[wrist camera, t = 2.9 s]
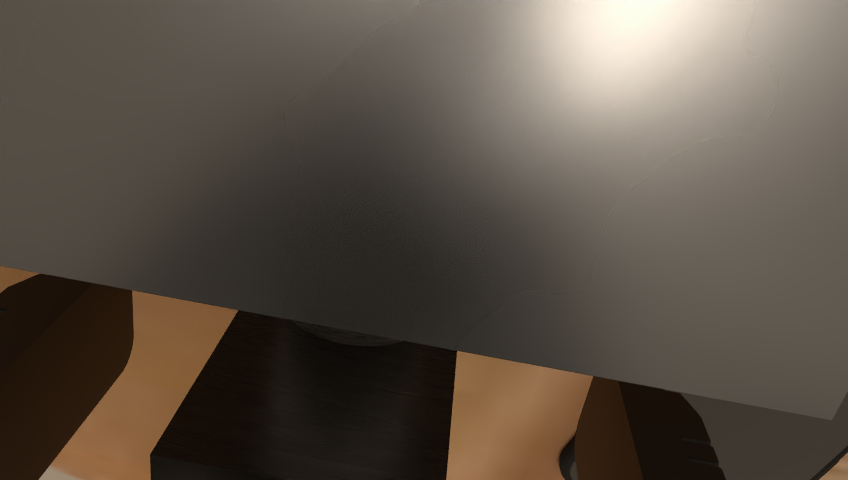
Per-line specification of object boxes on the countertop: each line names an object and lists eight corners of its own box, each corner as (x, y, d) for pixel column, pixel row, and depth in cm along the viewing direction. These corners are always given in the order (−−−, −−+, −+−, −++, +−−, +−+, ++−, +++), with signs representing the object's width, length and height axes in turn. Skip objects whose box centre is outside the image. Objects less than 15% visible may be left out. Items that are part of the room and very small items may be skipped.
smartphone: (1108, 227, 18) (728, 567, 24) (1080, 212, 19) (720, 545, 25) (881, 87, 17) (545, 480, 23) (862, 79, 18) (543, 460, 24)
